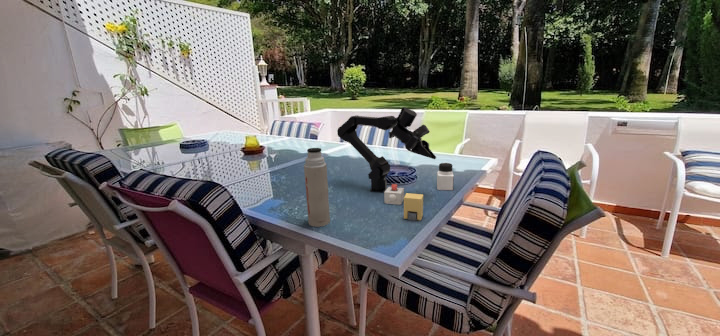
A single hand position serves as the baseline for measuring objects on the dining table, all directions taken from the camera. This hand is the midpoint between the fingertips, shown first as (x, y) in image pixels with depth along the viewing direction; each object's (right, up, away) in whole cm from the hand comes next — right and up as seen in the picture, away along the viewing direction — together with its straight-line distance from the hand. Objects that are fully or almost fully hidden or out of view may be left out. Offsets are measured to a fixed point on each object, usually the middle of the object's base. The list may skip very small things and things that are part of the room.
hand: (433, 157), depth 129 cm
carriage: (-10, -23, -10) cm, 27 cm away
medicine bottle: (+10, -14, +21) cm, 27 cm away
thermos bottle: (-45, -25, -11) cm, 53 cm away
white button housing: (-15, -19, +7) cm, 25 cm away
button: (-15, -13, +5) cm, 21 cm away
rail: (-8, -22, -5) cm, 24 cm away
